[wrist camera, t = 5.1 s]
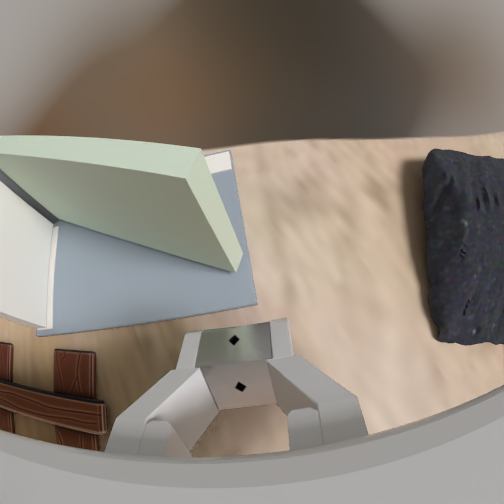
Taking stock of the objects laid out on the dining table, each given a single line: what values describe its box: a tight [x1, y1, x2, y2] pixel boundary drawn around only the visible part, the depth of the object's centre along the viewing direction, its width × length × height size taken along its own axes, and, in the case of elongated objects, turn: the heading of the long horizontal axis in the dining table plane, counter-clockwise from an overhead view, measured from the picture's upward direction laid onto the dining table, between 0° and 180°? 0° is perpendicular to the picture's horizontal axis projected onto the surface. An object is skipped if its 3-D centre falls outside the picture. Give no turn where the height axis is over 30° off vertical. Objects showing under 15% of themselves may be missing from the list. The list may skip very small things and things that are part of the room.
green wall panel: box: [0, 136, 243, 273], centre depth 15 cm, size 15×1×9 cm, turn 72°
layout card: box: [36, 150, 258, 337], centre depth 20 cm, size 11×16×1 cm
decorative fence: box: [0, 342, 107, 451], centre depth 16 cm, size 23×2×15 cm
